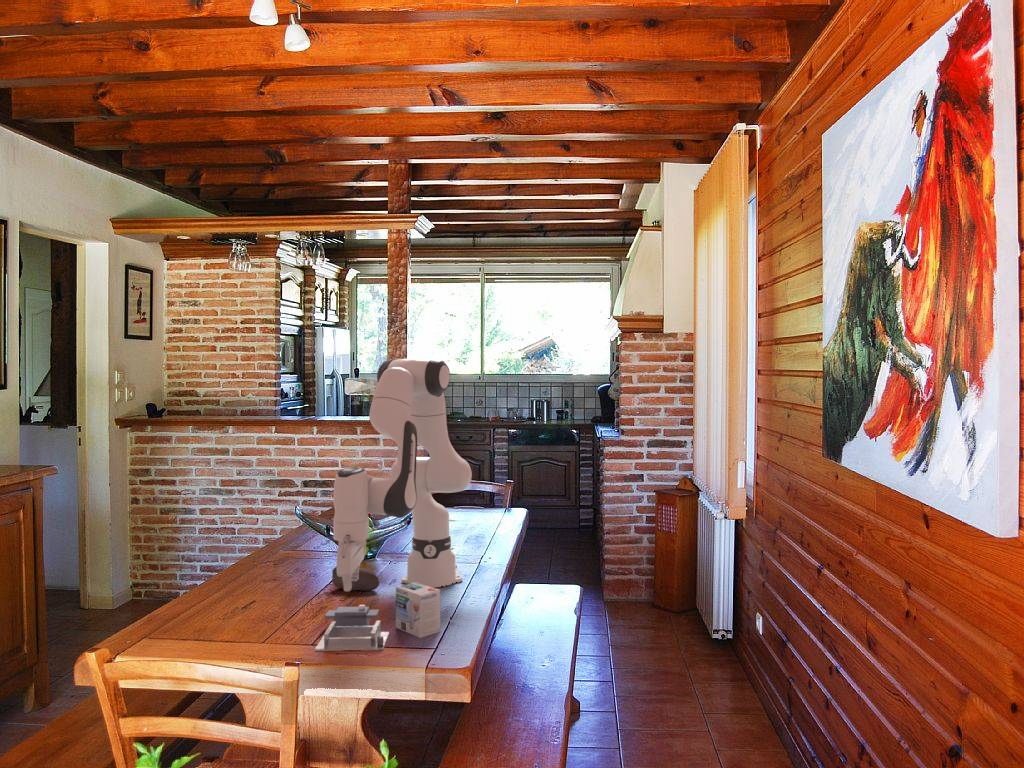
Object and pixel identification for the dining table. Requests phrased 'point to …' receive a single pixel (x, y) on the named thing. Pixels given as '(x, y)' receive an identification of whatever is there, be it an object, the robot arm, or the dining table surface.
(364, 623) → the servo
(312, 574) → the dining table surface
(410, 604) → the light bulb box
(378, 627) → the chassis
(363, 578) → the perforated stone tool
